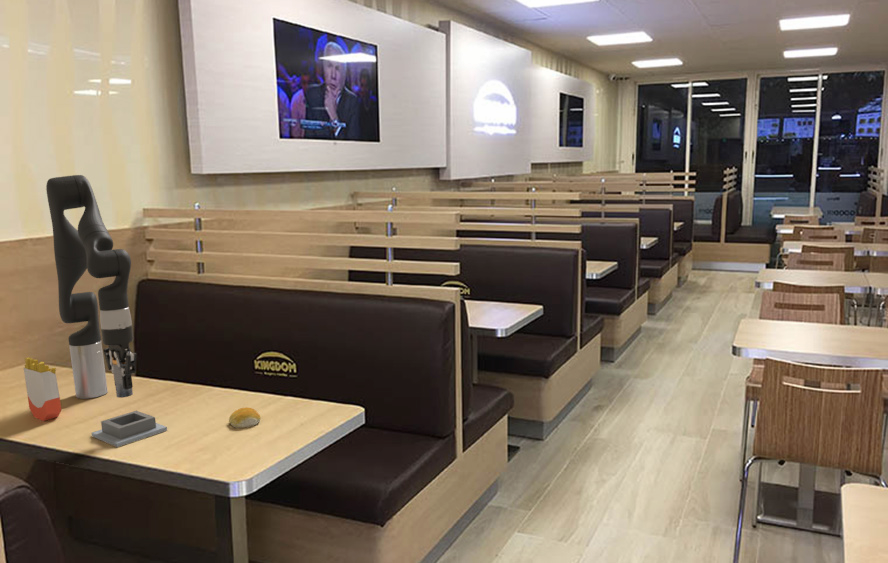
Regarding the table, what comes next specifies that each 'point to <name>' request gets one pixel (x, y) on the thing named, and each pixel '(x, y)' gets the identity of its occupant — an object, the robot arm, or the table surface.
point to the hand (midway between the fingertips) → (124, 387)
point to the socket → (128, 428)
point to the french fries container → (42, 390)
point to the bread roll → (244, 418)
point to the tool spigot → (120, 382)
